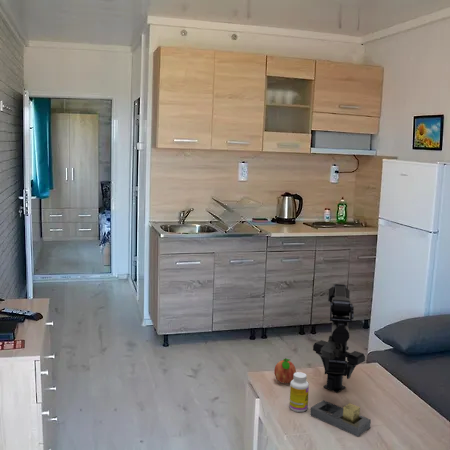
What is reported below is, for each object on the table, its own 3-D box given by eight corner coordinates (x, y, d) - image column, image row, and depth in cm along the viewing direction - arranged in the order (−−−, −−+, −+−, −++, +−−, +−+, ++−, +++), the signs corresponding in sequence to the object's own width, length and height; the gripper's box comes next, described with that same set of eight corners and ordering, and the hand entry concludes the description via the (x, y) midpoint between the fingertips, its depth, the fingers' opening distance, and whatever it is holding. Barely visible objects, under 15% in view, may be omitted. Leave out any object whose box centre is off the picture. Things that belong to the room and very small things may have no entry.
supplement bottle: (307, 413, 188) (308, 379, 186) (288, 411, 189) (290, 377, 187) (308, 405, 194) (309, 371, 192) (290, 402, 195) (291, 370, 193)
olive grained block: (348, 421, 183) (349, 403, 182) (358, 426, 180) (360, 407, 179) (342, 426, 180) (343, 406, 179) (352, 430, 177) (353, 411, 176)
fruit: (271, 384, 210) (272, 360, 208) (277, 375, 219) (278, 352, 217) (292, 388, 207) (293, 364, 206) (297, 378, 216) (298, 355, 214)
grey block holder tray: (323, 407, 192) (323, 400, 192) (370, 427, 179) (370, 419, 179) (310, 415, 186) (310, 407, 186) (358, 436, 173) (358, 428, 173)
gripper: (305, 332, 191) (303, 372, 193) (350, 346, 178) (347, 389, 180) (322, 325, 199) (320, 364, 201) (367, 338, 186) (364, 380, 188)
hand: (337, 374), depth 193 cm, fingers open, 9 cm apart
